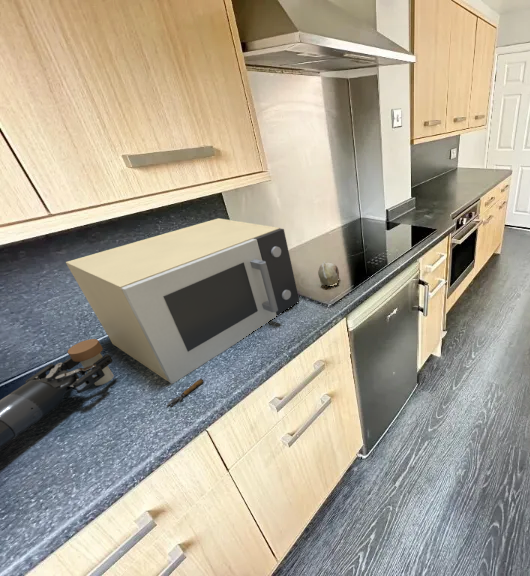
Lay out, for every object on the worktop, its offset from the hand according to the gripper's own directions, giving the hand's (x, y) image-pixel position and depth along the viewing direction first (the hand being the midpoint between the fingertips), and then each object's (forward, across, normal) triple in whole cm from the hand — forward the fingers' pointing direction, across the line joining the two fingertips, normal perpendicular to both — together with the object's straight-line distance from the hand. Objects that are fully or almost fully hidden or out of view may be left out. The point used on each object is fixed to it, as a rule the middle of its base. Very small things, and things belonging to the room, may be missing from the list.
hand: (95, 356), depth 79 cm
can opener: (-4, -26, +7) cm, 27 cm away
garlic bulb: (+53, -45, +7) cm, 70 cm away
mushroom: (-1, 0, +7) cm, 7 cm away
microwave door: (+13, -29, +6) cm, 32 cm away
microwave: (+26, -14, +7) cm, 30 cm away
